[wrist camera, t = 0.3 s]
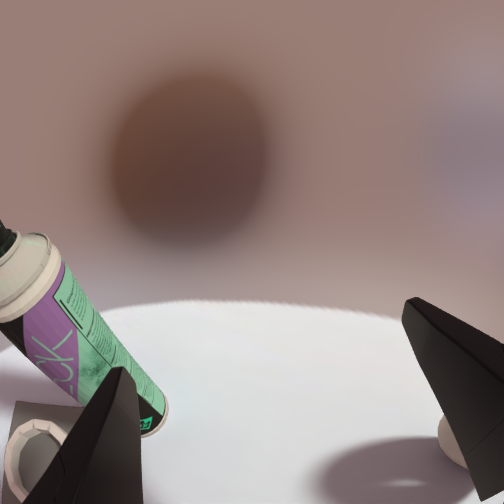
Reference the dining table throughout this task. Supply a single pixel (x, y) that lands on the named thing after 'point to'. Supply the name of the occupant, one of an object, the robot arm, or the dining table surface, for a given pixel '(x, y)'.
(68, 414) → the collar holder
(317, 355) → the dining table surface
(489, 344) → the robot arm
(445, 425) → the donut
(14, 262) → the spray can
